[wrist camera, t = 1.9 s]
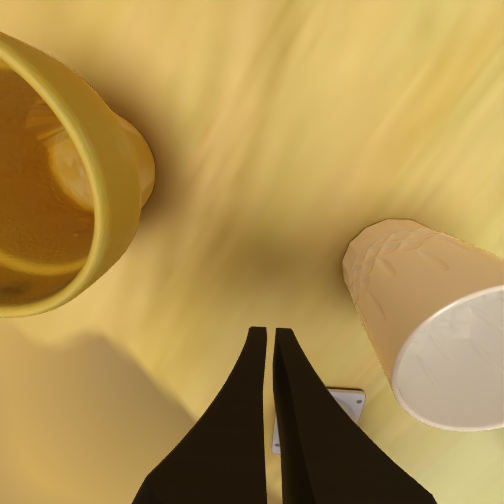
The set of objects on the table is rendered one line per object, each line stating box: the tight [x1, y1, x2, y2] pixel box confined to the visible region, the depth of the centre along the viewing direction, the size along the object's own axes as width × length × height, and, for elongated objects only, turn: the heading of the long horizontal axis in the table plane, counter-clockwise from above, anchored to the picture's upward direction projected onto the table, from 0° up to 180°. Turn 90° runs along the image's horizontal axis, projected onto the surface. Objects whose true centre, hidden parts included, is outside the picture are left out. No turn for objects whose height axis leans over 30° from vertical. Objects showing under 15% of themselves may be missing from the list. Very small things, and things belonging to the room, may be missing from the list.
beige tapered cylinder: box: [342, 219, 504, 432], centre depth 16 cm, size 8×8×10 cm
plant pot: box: [0, 32, 155, 318], centre depth 13 cm, size 10×10×10 cm
